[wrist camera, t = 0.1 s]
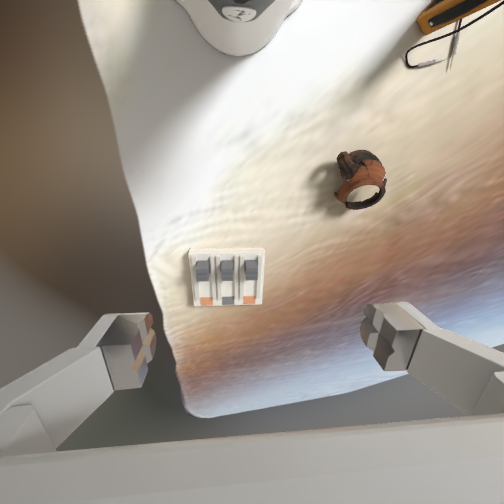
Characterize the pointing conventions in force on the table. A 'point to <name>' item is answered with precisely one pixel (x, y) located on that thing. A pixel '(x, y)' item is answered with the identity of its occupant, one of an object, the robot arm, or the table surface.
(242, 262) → the switch board
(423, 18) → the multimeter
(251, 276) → the tab
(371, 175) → the brown curved ring piece
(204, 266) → the tab
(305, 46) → the table surface
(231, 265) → the tab middle
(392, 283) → the table surface
